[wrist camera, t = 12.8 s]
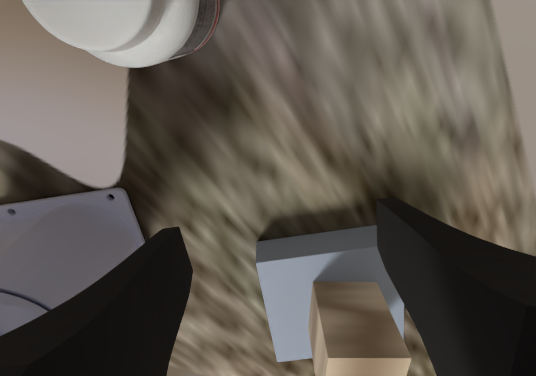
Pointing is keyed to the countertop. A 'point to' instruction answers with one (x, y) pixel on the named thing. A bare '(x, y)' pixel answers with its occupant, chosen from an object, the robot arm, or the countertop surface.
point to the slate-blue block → (316, 280)
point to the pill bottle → (129, 27)
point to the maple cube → (354, 332)
